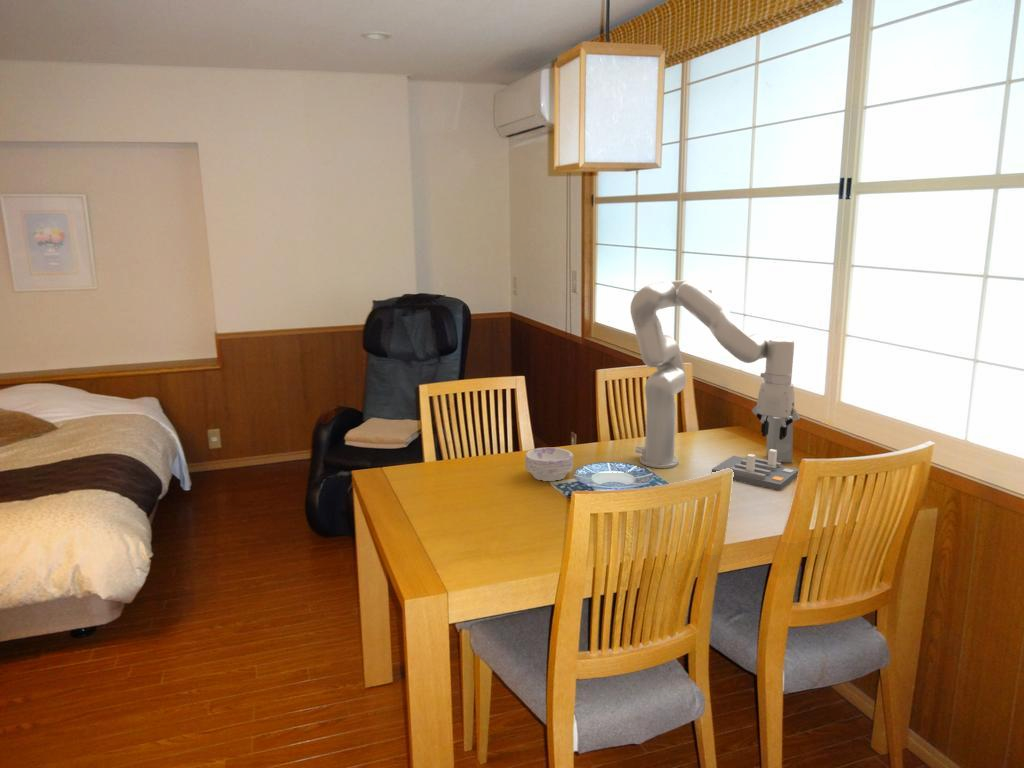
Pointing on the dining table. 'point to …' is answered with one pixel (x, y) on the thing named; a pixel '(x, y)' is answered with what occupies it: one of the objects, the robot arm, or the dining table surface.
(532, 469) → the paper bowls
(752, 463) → the block
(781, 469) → the breaker panel
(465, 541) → the dining table surface
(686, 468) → the dining table surface
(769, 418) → the skincare box
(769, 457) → the breaker handle
